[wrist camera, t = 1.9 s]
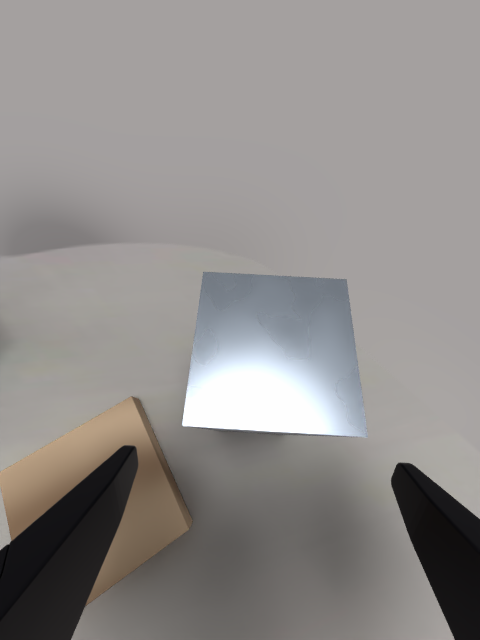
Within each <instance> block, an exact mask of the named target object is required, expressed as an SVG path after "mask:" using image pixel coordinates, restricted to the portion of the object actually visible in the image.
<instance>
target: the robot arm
mask: <svg viewBox="0 0 480 640" xmlns="http://www.w3.org/2000/svg"><path fill="white" fill-rule="evenodd" d="M137 470H138V455H137V448H136V446H134V445H124V446H122V447H121V448H119V449H118V450H117V451H116V452H115V453H114V454H112V455H111V456H110V457H109V458H108V459H107V460H105V461H104V462H103V463H102V464H101V465H100V466H98V467H97V468H96V469H95V470H94V471H93V472H91V473H90V474H89V475H88V476H87V477H86V478H84V479H83V480H82V481H81V482H80V483H79V484H77V485H76V486H75V487H74V488H73V489H72V490H70V491H69V492H68V493H67V494H66V495H65V496H63V497H62V498H61V499H60V500H59V501H58V502H56V503H55V504H54V505H53V506H52V507H51V508H49V509H48V510H47V511H46V512H45V513H44V514H42V515H41V516H40V517H39V518H38V519H36V520H35V521H34V522H33V523H32V524H31V525H29V526H28V527H27V528H26V529H25V530H24V531H22V532H21V533H20V534H19V535H18V536H17V537H15V538H14V539H13V540H12V541H11V542H10V545H9V544H8V545H6V546H5V547H4V548H2V549H1V550H0V640H71V638H72V636H73V633H74V631H75V629H76V626H77V624H78V622H79V619H80V617H81V615H82V612H83V610H84V607H85V605H86V603H87V600H88V598H89V596H90V593H91V591H92V589H93V586H94V584H95V581H96V579H97V577H98V574H99V572H100V570H101V567H102V565H103V563H104V560H105V558H106V555H107V553H108V551H109V548H110V546H111V544H112V541H113V539H114V537H115V534H116V532H117V529H118V527H119V524H120V522H121V519H122V516H123V514H124V511H125V507H126V504H127V501H128V498H129V495H130V492H131V489H132V485H133V482H134V479H135V476H136V473H137ZM391 484H392V488H393V491H394V494H395V497H396V500H397V503H398V505H399V508H400V511H401V514H402V517H403V520H404V523H405V526H406V528H407V531H408V534H409V537H410V539H411V542H412V544H413V546H414V549H415V551H416V553H417V555H418V558H419V560H420V562H421V564H422V567H423V569H424V571H425V573H426V576H427V578H428V580H429V582H430V585H431V587H432V589H433V591H434V594H435V596H436V598H437V600H438V603H439V605H440V607H441V609H442V612H443V614H444V616H445V618H446V621H447V623H448V625H449V627H450V630H451V632H452V634H453V636H454V639H455V640H480V519H479V518H478V517H476V516H475V515H474V514H473V513H472V512H470V511H469V510H468V509H467V508H465V507H464V506H463V505H462V504H461V503H459V502H458V501H457V500H456V499H454V498H453V497H452V496H451V495H449V494H448V493H447V492H446V491H445V490H443V489H442V488H441V487H440V486H438V485H437V484H436V483H435V482H434V481H432V480H431V479H430V478H429V477H427V476H426V475H425V474H424V473H423V472H421V471H420V470H419V469H418V468H416V467H415V466H414V465H412V464H410V463H398V464H397V465H396V468H395V470H394V473H393V476H392V478H391Z"/></svg>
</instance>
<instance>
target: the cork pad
mask: <svg viewBox="0 0 480 640" xmlns="http://www.w3.org/2000/svg"><path fill="white" fill-rule="evenodd" d="M124 445H134V446H136V448H137V455H138V470H137V473H136V476H135V479H134V482H133V485H132V489H131V492H130V495H129V498H128V501H127V504H126V507H125V511H124V514H123V516H122V519H121V522H120V524H119V527H118V529H117V532H116V534H115V537H114V539H113V541H112V544H111V546H110V548H109V551H108V553H107V555H106V558H105V560H104V563H103V565H102V567H101V570H100V572H99V574H98V577H97V579H96V581H95V584H94V586H93V589H92V591H91V593H90V596H89V598H88V600H87V603H86V605H87V604H89V603H90V602H92V601H93V600H94V599H96V598H97V597H98V596H100V595H101V594H102V593H104V592H105V591H106V590H108V589H109V588H110V587H112V586H113V585H115V584H116V583H117V582H119V581H120V580H121V579H123V578H124V577H125V576H127V575H128V574H129V573H131V572H132V571H134V570H135V569H136V568H138V567H139V566H140V565H142V564H143V563H144V562H146V561H147V560H148V559H150V558H151V557H152V556H154V555H155V554H157V553H158V552H159V551H161V550H162V549H163V548H165V547H166V546H167V545H169V544H170V543H171V542H173V541H174V540H175V539H177V538H178V537H180V536H181V535H182V534H184V533H185V532H186V531H188V530H189V528H190V526H191V524H192V522H193V521H192V518H191V516H190V514H189V512H188V509H187V507H186V505H185V503H184V500H183V498H182V496H181V494H180V491H179V489H178V487H177V484H176V482H175V480H174V478H173V475H172V473H171V471H170V469H169V466H168V464H167V462H166V460H165V457H164V455H163V453H162V450H161V448H160V446H159V444H158V441H157V439H156V437H155V435H154V432H153V430H152V428H151V425H150V423H149V421H148V419H147V416H146V414H145V412H144V410H143V407H142V405H141V403H140V401H139V399H137V398H135V397H132V396H131V397H129V398H128V399H126V400H124V401H122V402H121V403H119V404H117V405H116V406H114V407H112V408H110V409H109V410H107V411H105V412H103V413H102V414H100V415H98V416H96V417H95V418H93V419H91V420H89V421H88V422H86V423H84V424H82V425H81V426H79V427H77V428H76V429H74V430H72V431H70V432H69V433H67V434H65V435H63V436H62V437H60V438H58V439H56V440H55V441H53V442H51V443H49V444H48V445H46V446H44V447H43V448H41V449H39V450H37V451H36V452H34V453H32V454H30V455H29V456H27V457H25V458H23V459H22V460H20V461H18V462H16V463H15V464H13V465H11V466H9V467H8V468H6V469H4V470H3V471H1V472H0V486H1V491H2V496H3V501H4V506H5V511H6V516H7V520H8V525H9V530H10V535H11V540H13V539H14V538H15V537H17V536H18V535H19V534H20V533H21V532H22V531H24V530H25V529H26V528H27V527H28V526H29V525H31V524H32V523H33V522H34V521H35V520H36V519H38V518H39V517H40V516H41V515H42V514H44V513H45V512H46V511H47V510H48V509H49V508H51V507H52V506H53V505H54V504H55V503H56V502H58V501H59V500H60V499H61V498H62V497H63V496H65V495H66V494H67V493H68V492H69V491H70V490H72V489H73V488H74V487H75V486H76V485H77V484H79V483H80V482H81V481H82V480H83V479H84V478H86V477H87V476H88V475H89V474H90V473H91V472H93V471H94V470H95V469H96V468H97V467H98V466H100V465H101V464H102V463H103V462H104V461H105V460H107V459H108V458H109V457H110V456H111V455H112V454H114V453H115V452H116V451H117V450H118V449H119V448H121V447H122V446H124ZM86 605H85V606H86Z"/></svg>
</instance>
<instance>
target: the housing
mask: <svg viewBox="0 0 480 640" xmlns="http://www.w3.org/2000/svg"><path fill="white" fill-rule="evenodd" d="M182 426H187V427H194V428H202V429H209V430H216V431H232V432H248V433H264V434H280V435H308V436H341V437H368V435H367V428H366V420H365V413H364V406H363V398H362V391H361V383H360V376H359V369H358V361H357V354H356V346H355V339H354V332H353V324H352V317H351V309H350V302H349V295H348V287H347V280H346V279H330V278H329V279H328V278H310V277H291V276H273V275H254V274H235V273H216V272H203V278H202V285H201V293H200V300H199V307H198V314H197V322H196V329H195V336H194V343H193V351H192V358H191V365H190V372H189V380H188V387H187V394H186V401H185V408H184V416H183V423H182Z"/></svg>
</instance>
